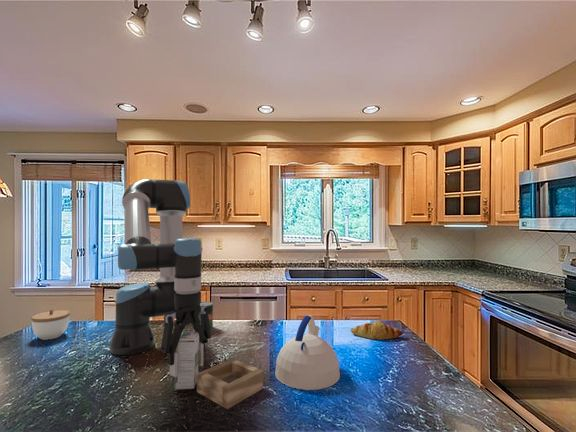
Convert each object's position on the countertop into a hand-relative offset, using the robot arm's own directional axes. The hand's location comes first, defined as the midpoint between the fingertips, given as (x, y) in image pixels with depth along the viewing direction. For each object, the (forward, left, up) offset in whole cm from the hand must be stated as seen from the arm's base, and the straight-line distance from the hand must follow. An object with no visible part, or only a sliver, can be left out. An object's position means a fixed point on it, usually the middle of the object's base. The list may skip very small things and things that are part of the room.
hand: (187, 369), depth 92 cm
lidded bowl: (-77, -13, -5) cm, 78 cm away
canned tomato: (-37, +33, -5) cm, 50 cm away
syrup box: (0, 0, -4) cm, 4 cm away
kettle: (+23, +28, -5) cm, 37 cm away
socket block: (+12, +6, -4) cm, 14 cm away
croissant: (+26, +73, -5) cm, 78 cm away
